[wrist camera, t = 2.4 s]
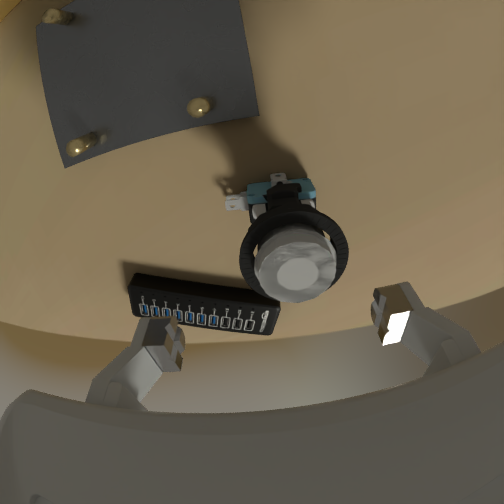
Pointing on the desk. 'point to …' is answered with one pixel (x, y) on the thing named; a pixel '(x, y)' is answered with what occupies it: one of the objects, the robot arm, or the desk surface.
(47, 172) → the desk surface
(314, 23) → the desk surface
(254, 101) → the chassis
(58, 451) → the robot arm
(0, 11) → the rubber stamp
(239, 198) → the push button
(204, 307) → the multiport hub
